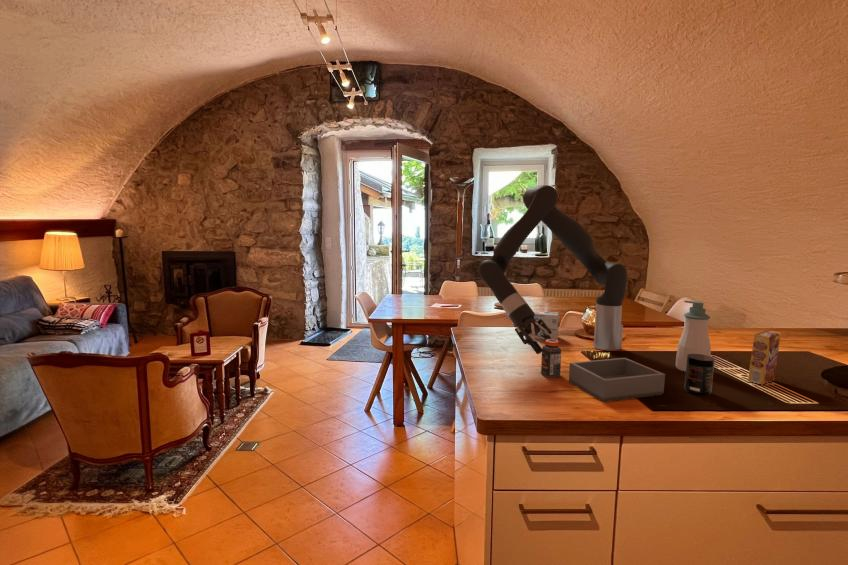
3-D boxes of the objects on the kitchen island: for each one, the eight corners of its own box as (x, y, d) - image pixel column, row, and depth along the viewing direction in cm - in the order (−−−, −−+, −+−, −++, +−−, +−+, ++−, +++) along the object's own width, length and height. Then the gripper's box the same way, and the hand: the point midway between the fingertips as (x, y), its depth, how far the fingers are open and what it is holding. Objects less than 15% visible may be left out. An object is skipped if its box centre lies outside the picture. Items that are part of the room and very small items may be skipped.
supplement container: (712, 391, 128) (716, 356, 127) (709, 398, 123) (713, 362, 122) (686, 386, 133) (689, 352, 131) (681, 392, 128) (684, 357, 126)
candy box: (763, 386, 133) (769, 336, 131) (747, 382, 137) (752, 333, 134) (775, 380, 138) (781, 332, 136) (759, 376, 141) (764, 329, 139)
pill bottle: (538, 371, 145) (539, 337, 143) (556, 371, 145) (557, 337, 144) (544, 378, 139) (546, 342, 137) (563, 377, 139) (564, 342, 138)
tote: (623, 375, 141) (625, 357, 140) (663, 394, 126) (665, 374, 125) (568, 381, 136) (569, 362, 135) (603, 401, 121) (604, 380, 120)
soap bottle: (680, 363, 154) (685, 298, 151) (713, 370, 147) (719, 302, 144) (671, 370, 147) (676, 302, 144) (705, 377, 140) (711, 306, 137)
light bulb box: (558, 336, 190) (559, 312, 188) (557, 340, 183) (558, 315, 182) (532, 334, 193) (533, 310, 192) (531, 338, 187) (532, 313, 185)
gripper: (512, 305, 141) (543, 348, 135) (536, 300, 151) (566, 339, 145) (498, 319, 146) (527, 361, 139) (522, 313, 156) (550, 352, 149)
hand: (547, 350), depth 142 cm, fingers open, 8 cm apart
